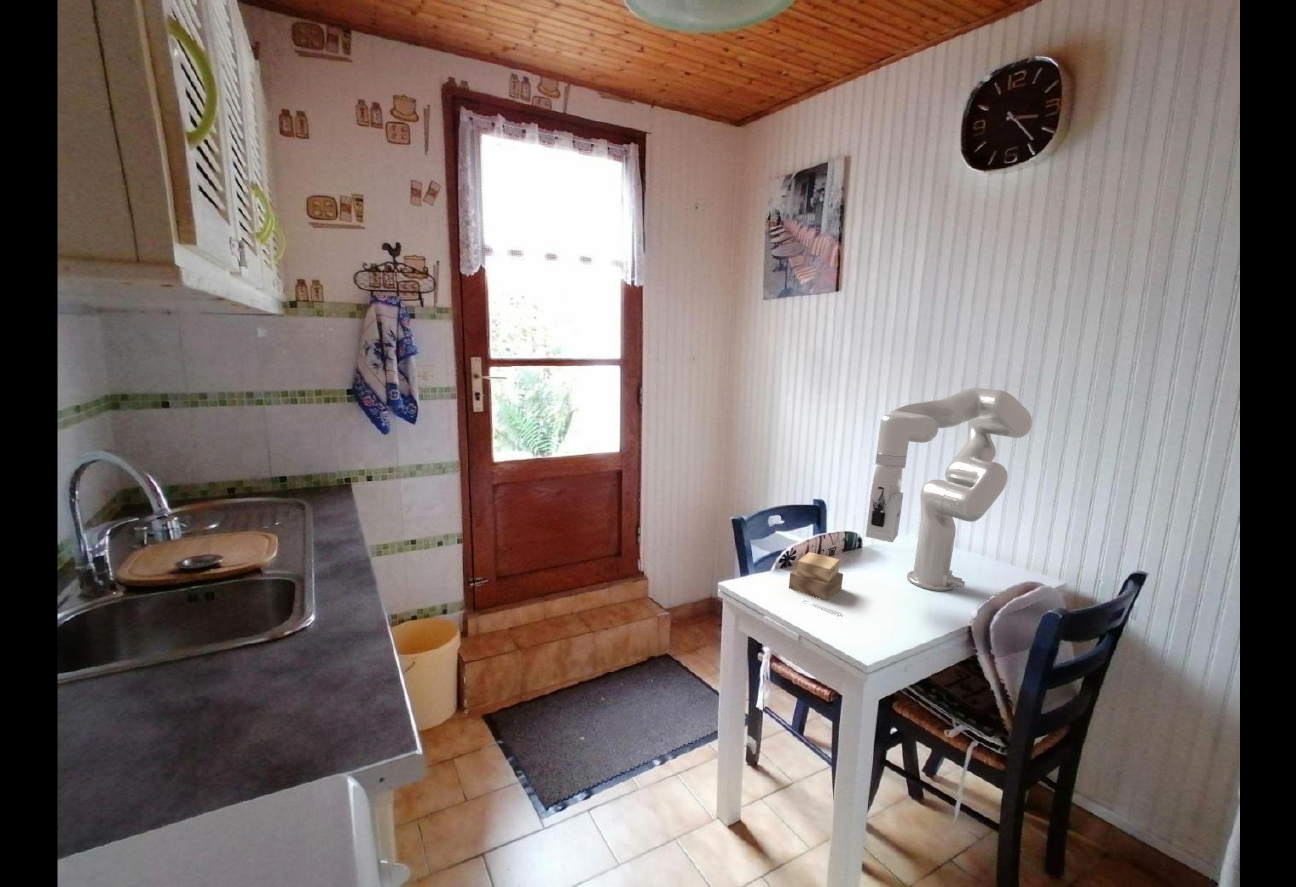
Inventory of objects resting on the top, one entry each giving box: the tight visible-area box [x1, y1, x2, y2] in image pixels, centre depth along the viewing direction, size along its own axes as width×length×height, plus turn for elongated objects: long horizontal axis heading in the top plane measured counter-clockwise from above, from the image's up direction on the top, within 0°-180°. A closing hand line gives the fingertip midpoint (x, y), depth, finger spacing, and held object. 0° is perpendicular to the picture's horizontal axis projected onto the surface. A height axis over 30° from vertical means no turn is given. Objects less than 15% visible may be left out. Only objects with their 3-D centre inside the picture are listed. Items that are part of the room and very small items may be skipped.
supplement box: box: [865, 491, 904, 543], centre depth 154 cm, size 7×7×13 cm
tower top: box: [796, 551, 840, 583], centre depth 160 cm, size 9×9×4 cm
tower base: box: [788, 568, 844, 602], centre depth 161 cm, size 11×11×5 cm
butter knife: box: [801, 599, 843, 617], centre depth 153 cm, size 1×24×3 cm
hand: (882, 522), depth 154 cm, fingers closed on supplement box, 7 cm apart
